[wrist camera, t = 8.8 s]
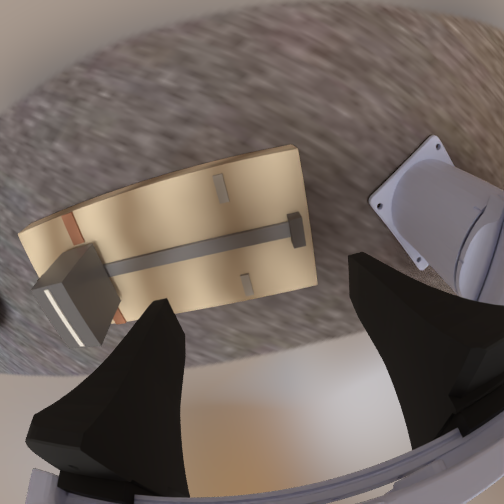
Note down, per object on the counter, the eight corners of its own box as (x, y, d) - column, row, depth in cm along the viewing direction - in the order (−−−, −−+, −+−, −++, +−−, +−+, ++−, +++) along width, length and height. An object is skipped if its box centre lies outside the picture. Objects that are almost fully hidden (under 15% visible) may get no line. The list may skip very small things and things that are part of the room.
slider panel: (291, 144, 18) (301, 151, 16) (311, 270, 23) (320, 292, 20) (30, 224, 19) (11, 239, 17) (78, 315, 24) (67, 336, 22)
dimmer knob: (92, 243, 18) (60, 283, 14) (121, 300, 20) (100, 347, 16) (62, 252, 18) (29, 291, 14) (91, 306, 21) (68, 349, 16)
